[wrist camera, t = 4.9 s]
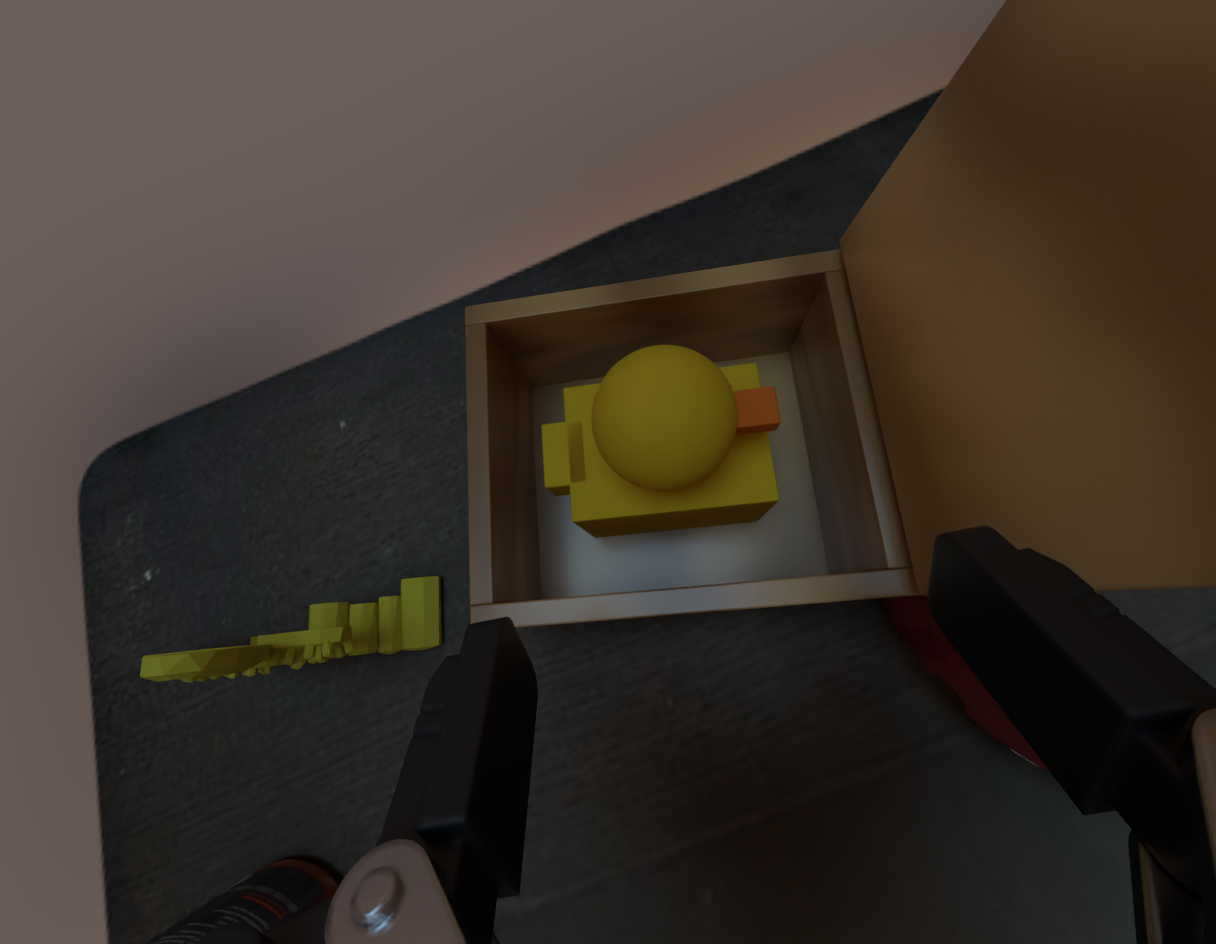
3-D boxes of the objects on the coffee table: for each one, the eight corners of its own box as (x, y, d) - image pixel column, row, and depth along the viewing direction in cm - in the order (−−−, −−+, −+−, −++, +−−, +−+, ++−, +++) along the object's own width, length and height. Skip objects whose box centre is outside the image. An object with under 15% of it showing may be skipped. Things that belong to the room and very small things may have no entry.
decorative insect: (382, 651, 29) (139, 682, 22) (383, 590, 29) (148, 604, 23) (498, 650, 19) (136, 705, 13) (494, 562, 20) (152, 571, 14)
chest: (529, 621, 23) (469, 631, 16) (519, 380, 26) (464, 306, 19) (848, 595, 21) (923, 594, 15) (799, 342, 24) (844, 247, 18)
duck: (574, 540, 23) (503, 501, 13) (566, 432, 24) (497, 329, 15) (757, 521, 22) (815, 467, 13) (740, 411, 23) (781, 287, 14)
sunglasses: (763, 516, 22) (807, 479, 17) (1018, 325, 26) (1112, 251, 21) (1098, 915, 18) (1281, 1011, 13) (1353, 617, 21) (1570, 606, 16)
